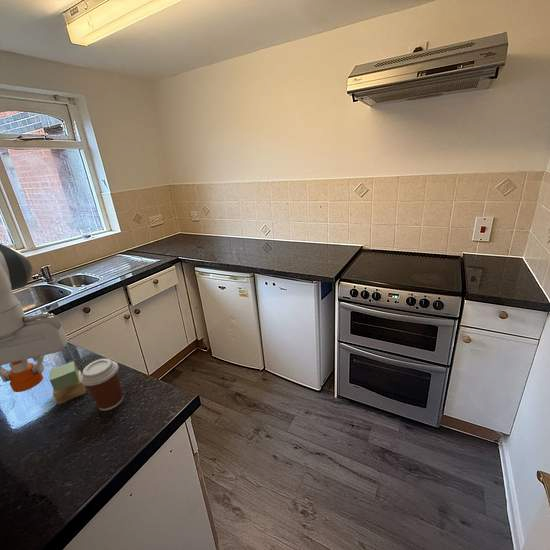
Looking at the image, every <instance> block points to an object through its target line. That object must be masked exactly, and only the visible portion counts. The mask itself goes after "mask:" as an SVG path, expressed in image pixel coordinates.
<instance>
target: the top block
mask: <svg viewBox="0 0 550 550" xmlns="http://www.w3.org/2000/svg"><path fill="white" fill-rule="evenodd" d="M78 371H79V369H78V367H77V364H76V363H75V360H73V361H70V362H67V363H64V364H63V365H60V366H57V367H54V368H51V369H49V383H50V384H51V386H52V387H51V388H52V390H53V389H54V391H55V392H56V391H58V390H61V389H63V388H66V387H68V386H71V385H73V384H75V383H78V382H79V373H78Z"/></svg>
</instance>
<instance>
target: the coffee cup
mask: <svg viewBox="0 0 550 550" xmlns="http://www.w3.org/2000/svg"><path fill="white" fill-rule="evenodd" d="M119 368H120V367H119V364H118V363H117V362H116V361H114V360H112V359H111V358H99V359H96V360H94V361H92V362H90V363H89V364H87V365H86V366H85V367H84V368H83V370H82V371H81V373H82V375H81V377H80V381H81V384H83V385H85V387H86V388H87V390H88V392H89V393H90V395H91V397H92V399H93V401H94V402H95V405H96V406H97V408H98V409H99V410H100V411H103V412H104V411H109V410H112V409H114V408H116V407H118V406H119V405H121V403H122V402H123V400H124V398H125V397H124V393H123V389H122V385H121V381H120V377H119Z"/></svg>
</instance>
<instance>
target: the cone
mask: <svg viewBox="0 0 550 550" xmlns="http://www.w3.org/2000/svg"><path fill="white" fill-rule="evenodd" d="M8 365H9V368H10V370H11V371H10V372H9V376H10V378H11V381H9V386H10V388H11V389H12V391H13V392H14V393H22V392H26V391H28V390H31V389H33V388H34V387H36V386H38V385H39V384H40V383H41V382H42V381H43V379H44V376H43V374H42V373H43V372H42V373H39V374H33V371H32V367H34V363H33V362H29V361H28V359H26V360H22V361H17V362H13V363H9V364H8Z"/></svg>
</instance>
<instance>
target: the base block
mask: <svg viewBox="0 0 550 550" xmlns="http://www.w3.org/2000/svg"><path fill="white" fill-rule="evenodd" d="M78 373H79V382H78V383H75V384H73V385H71V386H68V387H66V388H63V389H61V390H58V391H56V392H55V391H54V389H53V388H52V396H53V397H54V399H55V401H56V403H57V405H58V406H59V405H61V404H63V403H67V402H69V401H71V400H73V399H76V398H77V397H80V396H83V395H85V394H86V393H87V389H86V388H87V386H85V385H83V384H81V381H80V377H81V375H82V374H83V373H82V371H81V370H79V369H78Z"/></svg>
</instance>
